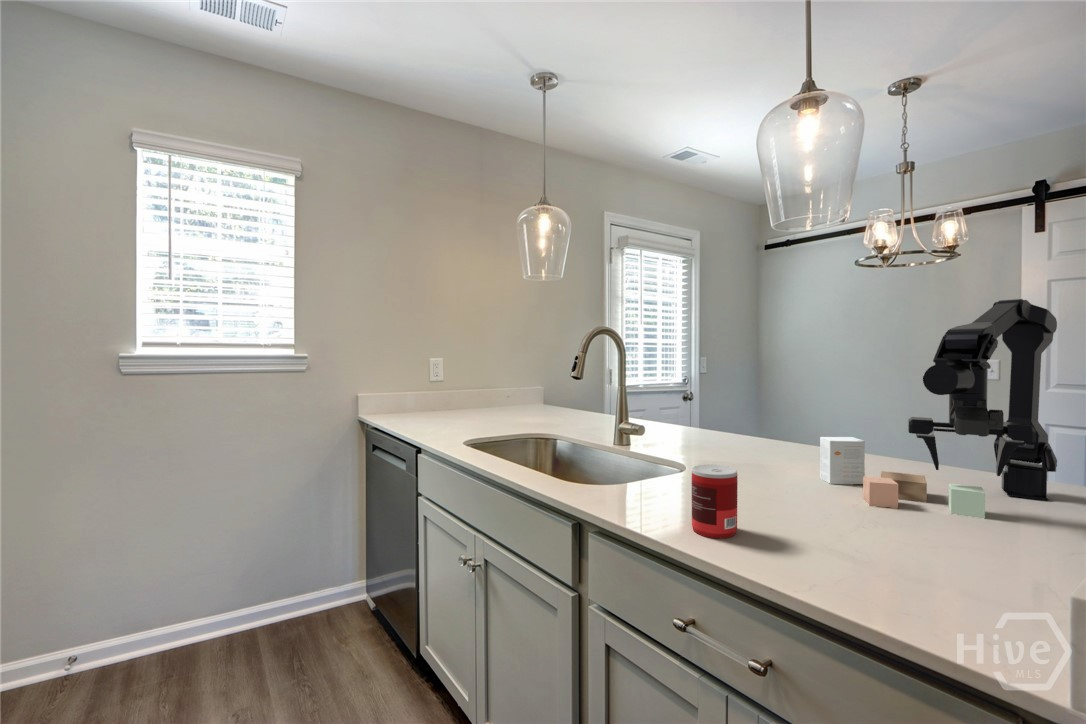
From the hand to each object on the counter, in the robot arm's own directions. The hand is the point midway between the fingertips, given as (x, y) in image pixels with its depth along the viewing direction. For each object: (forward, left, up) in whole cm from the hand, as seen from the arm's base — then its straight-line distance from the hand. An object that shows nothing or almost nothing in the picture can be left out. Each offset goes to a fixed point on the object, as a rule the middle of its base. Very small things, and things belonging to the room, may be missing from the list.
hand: (966, 472), depth 100 cm
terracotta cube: (+14, +2, -8) cm, 16 cm away
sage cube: (0, 0, -8) cm, 8 cm away
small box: (+22, -14, -8) cm, 27 cm away
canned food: (+38, +37, -8) cm, 54 cm away
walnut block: (+10, -8, -8) cm, 15 cm away
